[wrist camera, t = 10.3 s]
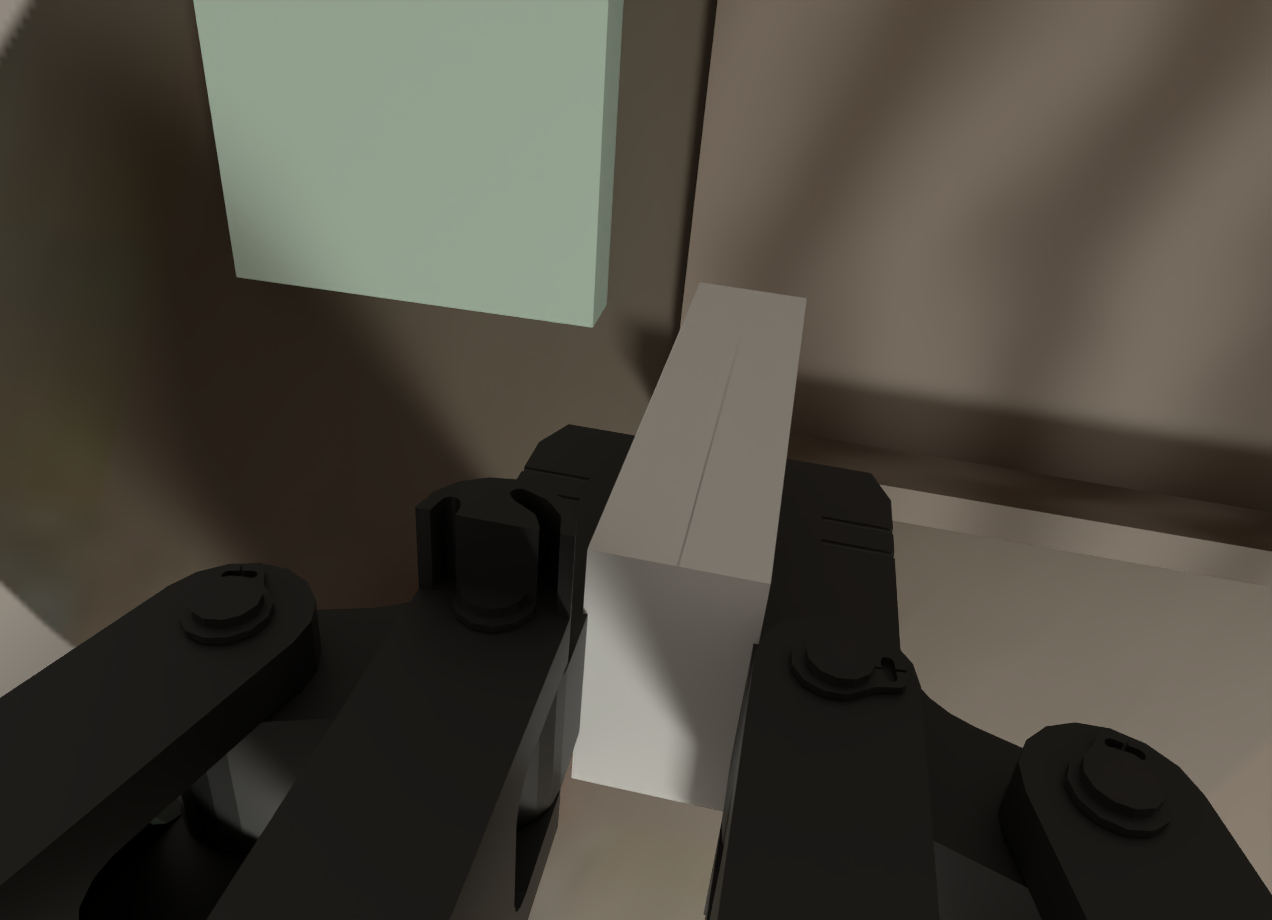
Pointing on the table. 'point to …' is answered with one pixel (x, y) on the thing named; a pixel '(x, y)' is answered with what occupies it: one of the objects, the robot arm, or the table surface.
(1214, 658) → the table surface
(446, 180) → the cover plate
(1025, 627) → the table surface
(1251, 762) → the table surface
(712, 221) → the slide box
